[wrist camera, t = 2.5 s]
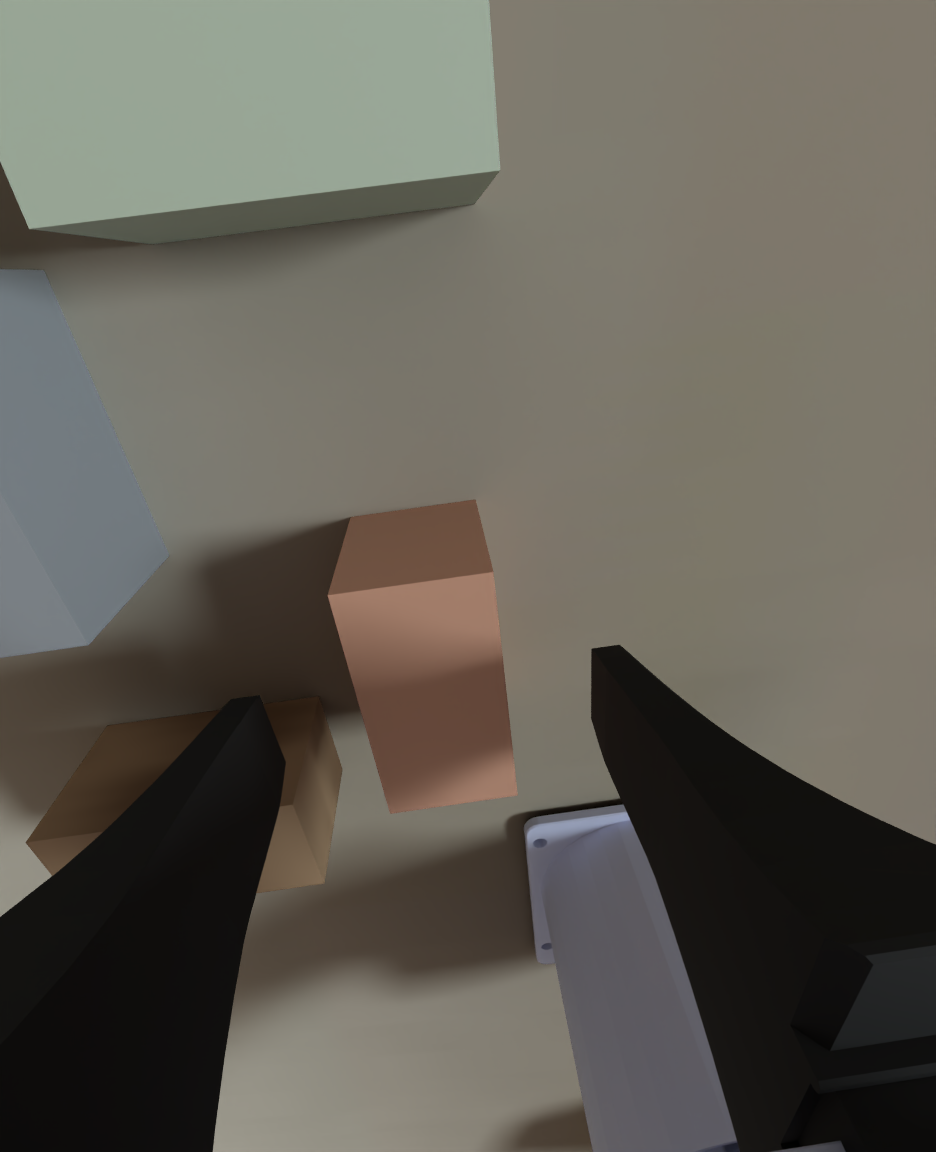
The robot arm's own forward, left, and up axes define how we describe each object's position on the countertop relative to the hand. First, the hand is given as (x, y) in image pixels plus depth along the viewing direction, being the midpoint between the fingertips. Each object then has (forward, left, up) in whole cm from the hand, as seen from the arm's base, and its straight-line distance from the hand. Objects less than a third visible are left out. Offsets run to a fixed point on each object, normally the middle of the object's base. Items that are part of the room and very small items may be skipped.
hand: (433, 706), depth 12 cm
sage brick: (+11, +1, -4) cm, 12 cm away
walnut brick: (-4, +7, -4) cm, 9 cm away
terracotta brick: (0, 0, -4) cm, 4 cm away
